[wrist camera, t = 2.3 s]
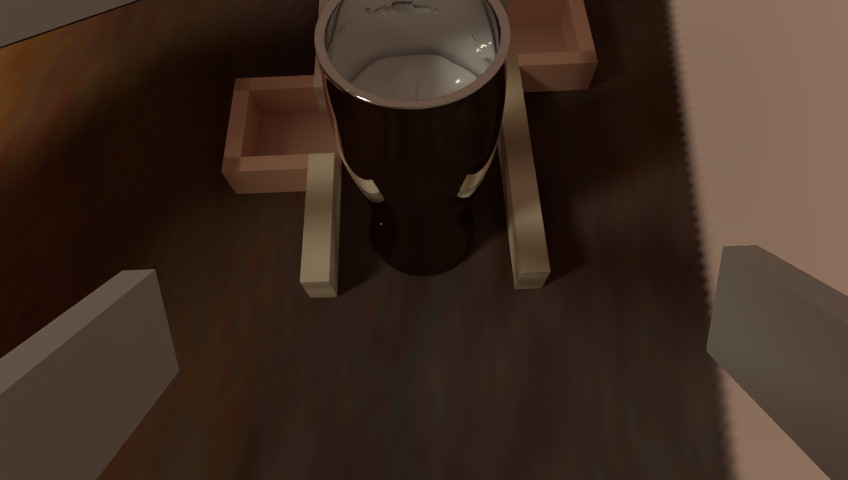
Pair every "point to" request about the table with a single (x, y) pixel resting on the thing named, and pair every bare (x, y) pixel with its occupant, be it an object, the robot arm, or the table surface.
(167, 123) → the table surface
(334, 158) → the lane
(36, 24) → the gable box
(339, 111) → the beer glass
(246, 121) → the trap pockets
